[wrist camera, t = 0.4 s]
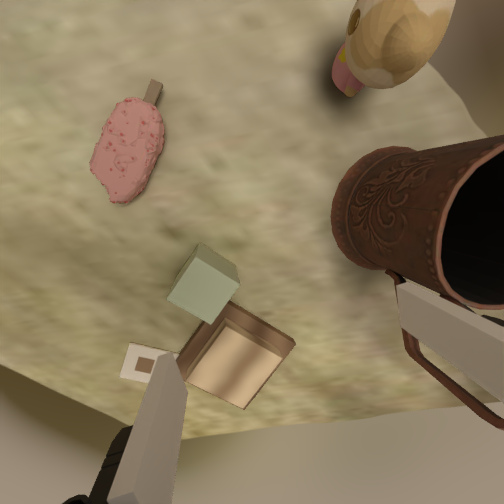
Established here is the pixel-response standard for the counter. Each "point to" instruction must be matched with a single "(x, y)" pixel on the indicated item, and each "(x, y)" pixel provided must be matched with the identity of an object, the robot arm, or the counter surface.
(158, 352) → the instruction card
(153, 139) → the ice cream bar
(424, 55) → the toy
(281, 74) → the counter surface
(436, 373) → the cup holder
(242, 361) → the base brick
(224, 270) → the sage brick
